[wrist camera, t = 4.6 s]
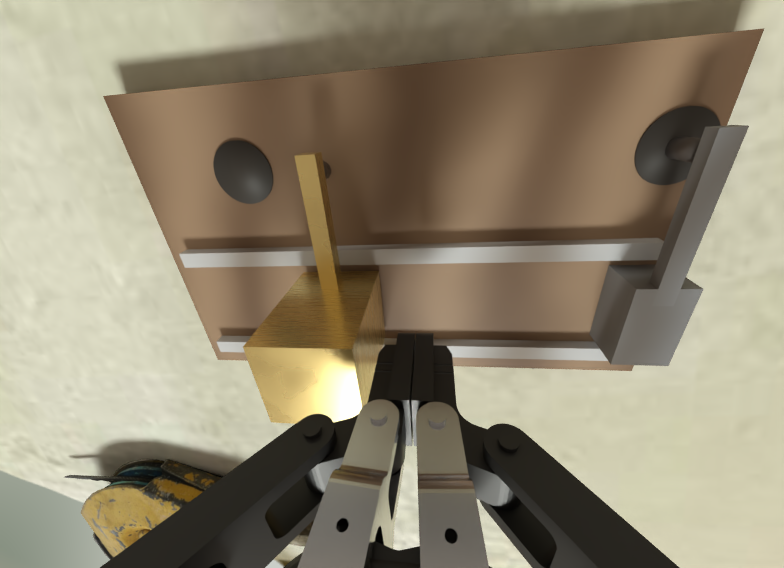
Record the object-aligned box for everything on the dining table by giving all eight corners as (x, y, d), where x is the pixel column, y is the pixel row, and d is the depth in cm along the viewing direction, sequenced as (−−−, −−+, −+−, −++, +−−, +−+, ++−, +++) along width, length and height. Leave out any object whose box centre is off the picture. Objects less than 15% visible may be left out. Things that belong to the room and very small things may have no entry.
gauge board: (733, 36, 11) (844, 8, 8) (620, 356, 18) (657, 404, 15) (126, 97, 15) (46, 93, 12) (228, 347, 22) (195, 386, 19)
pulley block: (370, 625, 27) (92, 595, 33) (381, 549, 32) (142, 535, 38) (333, 508, 22) (20, 497, 28) (354, 442, 28) (88, 444, 34)
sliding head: (366, 146, 13) (321, 169, 8) (385, 334, 18) (365, 427, 12) (276, 152, 14) (178, 177, 8) (317, 333, 18) (271, 422, 13)
